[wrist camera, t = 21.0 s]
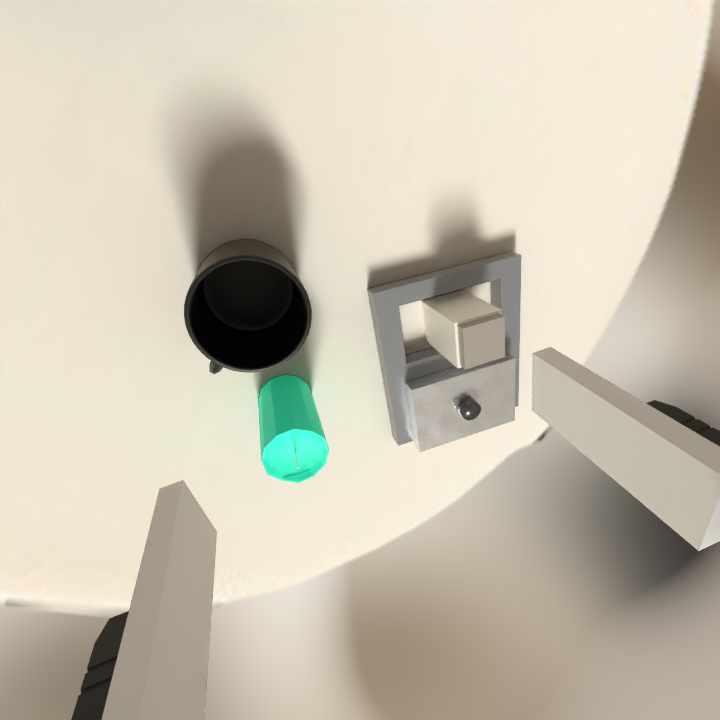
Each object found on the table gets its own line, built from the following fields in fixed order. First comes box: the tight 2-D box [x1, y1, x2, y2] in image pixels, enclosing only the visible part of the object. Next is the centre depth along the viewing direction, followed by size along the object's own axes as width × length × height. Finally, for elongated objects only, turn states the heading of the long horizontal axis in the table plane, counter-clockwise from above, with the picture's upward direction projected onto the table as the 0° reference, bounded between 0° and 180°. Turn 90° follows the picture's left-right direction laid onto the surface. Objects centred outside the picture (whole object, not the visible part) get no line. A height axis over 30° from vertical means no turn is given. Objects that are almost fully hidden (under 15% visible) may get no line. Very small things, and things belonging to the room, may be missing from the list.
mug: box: [184, 239, 312, 374], centre depth 33 cm, size 9×12×9 cm
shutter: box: [405, 352, 515, 452], centre depth 46 cm, size 9×13×3 cm
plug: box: [422, 290, 505, 369], centre depth 40 cm, size 5×5×8 cm
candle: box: [258, 375, 329, 483], centre depth 38 cm, size 6×6×12 cm
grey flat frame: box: [367, 252, 521, 446], centre depth 45 cm, size 20×17×2 cm
